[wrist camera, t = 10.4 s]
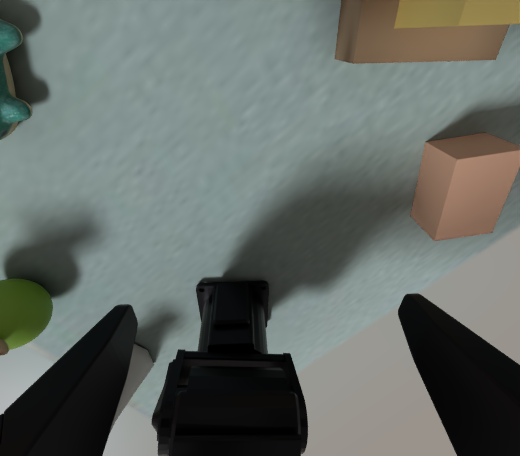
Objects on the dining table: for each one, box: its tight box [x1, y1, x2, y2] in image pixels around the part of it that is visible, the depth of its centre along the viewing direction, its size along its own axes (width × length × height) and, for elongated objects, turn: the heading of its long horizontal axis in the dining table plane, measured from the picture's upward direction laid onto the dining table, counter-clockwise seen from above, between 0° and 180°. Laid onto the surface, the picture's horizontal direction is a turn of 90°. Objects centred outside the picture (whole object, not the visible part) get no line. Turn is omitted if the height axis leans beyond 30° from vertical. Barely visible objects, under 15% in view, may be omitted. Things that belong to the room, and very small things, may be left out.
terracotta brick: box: [410, 133, 520, 241], centre depth 19 cm, size 6×4×4 cm, turn 8°
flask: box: [110, 344, 154, 431], centre depth 27 cm, size 7×7×10 cm
